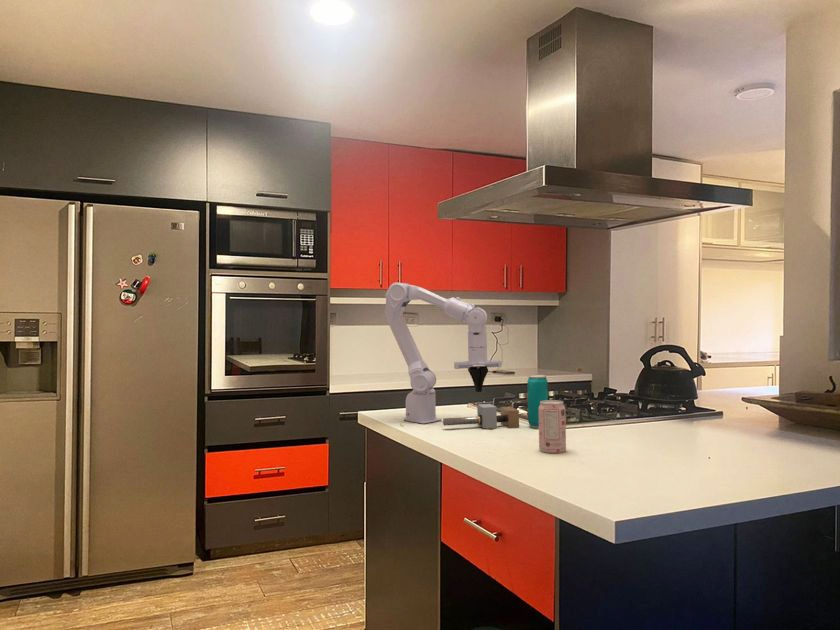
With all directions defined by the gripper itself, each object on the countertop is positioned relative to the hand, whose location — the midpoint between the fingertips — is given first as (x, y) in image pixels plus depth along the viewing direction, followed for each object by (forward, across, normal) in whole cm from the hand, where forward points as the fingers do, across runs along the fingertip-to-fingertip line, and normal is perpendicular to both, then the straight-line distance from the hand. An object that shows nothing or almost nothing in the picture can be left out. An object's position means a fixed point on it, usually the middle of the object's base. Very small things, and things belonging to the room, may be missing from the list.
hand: (478, 391), depth 196 cm
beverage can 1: (+10, +14, -13) cm, 21 cm away
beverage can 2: (+10, +6, -41) cm, 43 cm away
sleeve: (+9, 0, -8) cm, 12 cm away
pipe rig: (+9, -2, -8) cm, 13 cm away
